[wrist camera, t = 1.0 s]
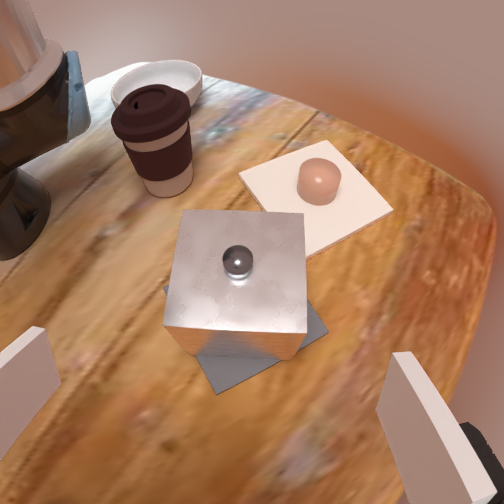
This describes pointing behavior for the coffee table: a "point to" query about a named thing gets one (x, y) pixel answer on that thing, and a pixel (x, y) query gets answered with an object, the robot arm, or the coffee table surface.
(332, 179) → the pink domed cylinder
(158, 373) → the coffee table surface
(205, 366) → the rubber mat
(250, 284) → the metal cover
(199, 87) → the cereal bowl
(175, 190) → the coffee cup
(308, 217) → the serving board
